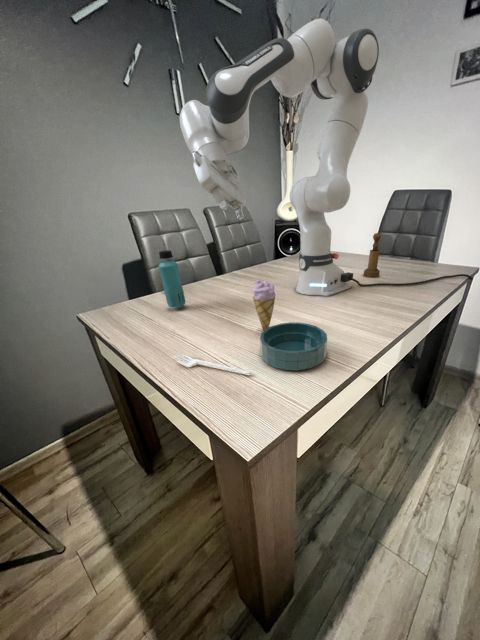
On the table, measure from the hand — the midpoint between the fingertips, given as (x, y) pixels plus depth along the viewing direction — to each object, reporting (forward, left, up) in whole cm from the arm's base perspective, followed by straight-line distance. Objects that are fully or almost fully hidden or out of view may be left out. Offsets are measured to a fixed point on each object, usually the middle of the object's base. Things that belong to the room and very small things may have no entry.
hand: (233, 213), depth 74 cm
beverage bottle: (+17, -21, -30) cm, 41 cm away
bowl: (0, +29, -30) cm, 42 cm away
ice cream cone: (-1, +13, -30) cm, 33 cm away
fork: (+19, +24, -30) cm, 43 cm away
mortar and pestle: (-68, -10, -30) cm, 76 cm away
